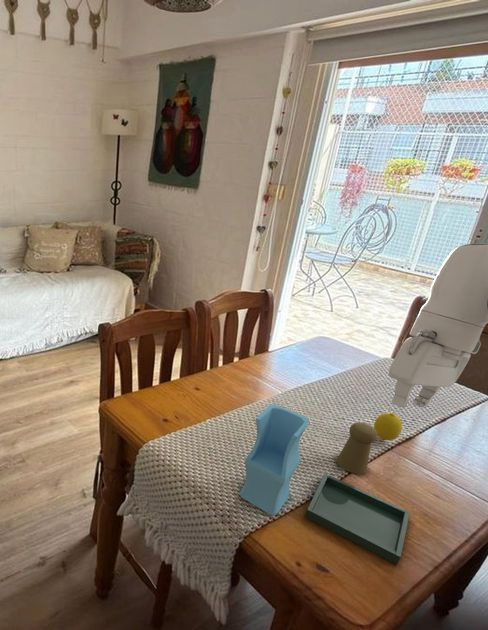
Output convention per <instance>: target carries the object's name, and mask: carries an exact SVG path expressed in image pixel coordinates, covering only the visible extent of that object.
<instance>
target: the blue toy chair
mask: <svg viewBox="0 0 488 630" xmlns="http://www.w3.org/2000/svg"><path fill="white" fill-rule="evenodd" d="M310 422H311V421H310V419H309V418H308V417H307V416H305V415H302V414H300V413H298V412H295V411H293V410H291V409H288V408H286V407H283V406H281V405H278V404H275V403H274V404H269V405H267V407H266V408H265V409H263V411H262V412H260V413H259V415H257V416H256V417H255V425H256V438H255V442H254V445H253V447H252V448H251V450H250V452H249V453H248V454H247V456H246V458H245V460H244V466H245V467H244V468H245V480H244V484H243V486H242V487H241V490H240V492H239V496H240V497H241V498H242V499H243V500H245V501H246V502H248V503H250V504H251V505H253V506H254V507H256V508H258V509H260V510H261V511H263V512H265V513H267V514H268V515H271V516H275V515H277V513H279V512H280V511H281V509H282V507H284V504H285V503H286V502H287V501H288V499H289V498H290V486H291V480H292V477H293V475H294V473H296V472H295V471H296V470H297V468H298V466H299V465H300V462H301V456H300V455H301V454H300V440H301V439H302V436H303V434H304V432H305V431H306V429H307V427H308V426H309V424H310Z"/></svg>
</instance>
